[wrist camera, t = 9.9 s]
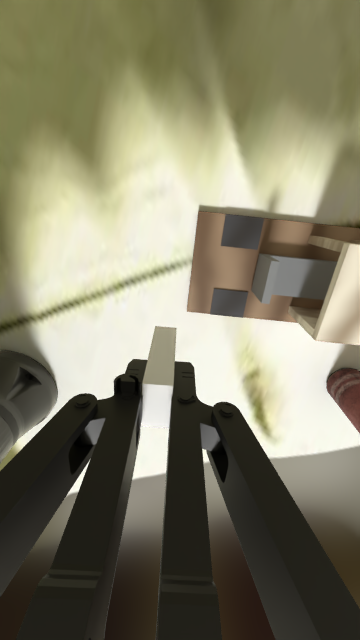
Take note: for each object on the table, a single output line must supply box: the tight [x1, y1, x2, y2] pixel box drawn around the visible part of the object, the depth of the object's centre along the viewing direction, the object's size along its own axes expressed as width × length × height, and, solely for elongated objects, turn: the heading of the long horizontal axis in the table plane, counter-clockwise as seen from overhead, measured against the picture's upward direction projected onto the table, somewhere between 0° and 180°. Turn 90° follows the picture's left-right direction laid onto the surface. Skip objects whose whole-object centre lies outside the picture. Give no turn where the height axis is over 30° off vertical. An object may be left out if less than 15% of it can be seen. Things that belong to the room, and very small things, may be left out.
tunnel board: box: [187, 211, 360, 345], centre depth 32 cm, size 30×14×10 cm, turn 84°
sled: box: [251, 253, 337, 304], centre depth 32 cm, size 21×5×6 cm, turn 84°
